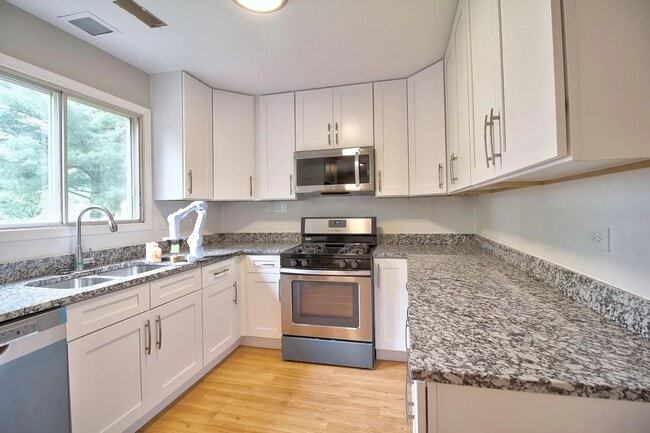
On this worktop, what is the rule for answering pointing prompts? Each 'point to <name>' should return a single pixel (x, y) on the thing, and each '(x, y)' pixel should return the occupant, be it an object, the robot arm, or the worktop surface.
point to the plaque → (181, 264)
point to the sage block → (174, 248)
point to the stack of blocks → (153, 252)
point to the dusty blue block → (191, 258)
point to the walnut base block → (177, 258)
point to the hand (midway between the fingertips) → (175, 250)
